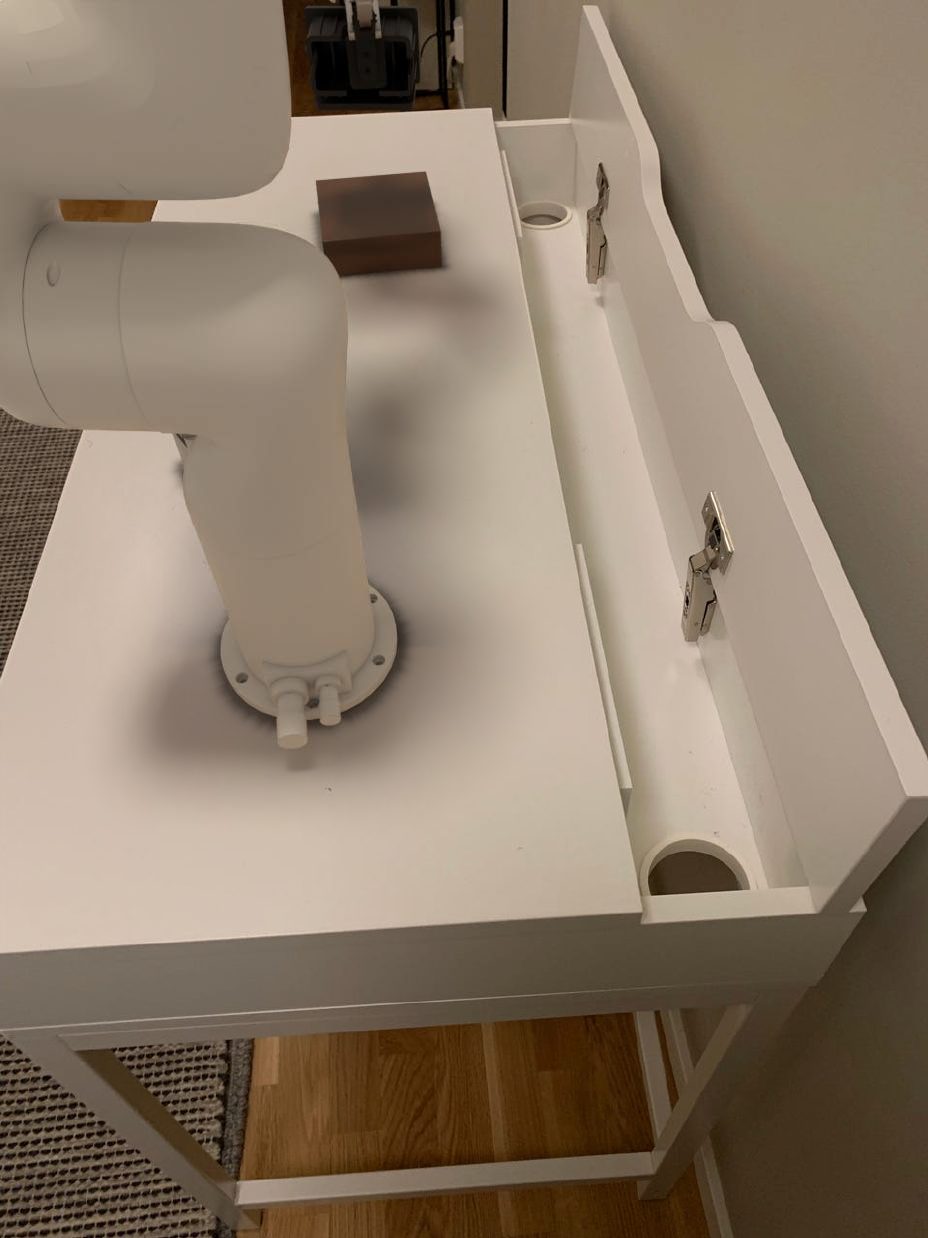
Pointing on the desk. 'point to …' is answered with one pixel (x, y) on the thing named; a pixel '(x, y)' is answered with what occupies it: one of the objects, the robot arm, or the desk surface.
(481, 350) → the desk surface
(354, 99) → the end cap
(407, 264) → the riser
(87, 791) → the desk surface
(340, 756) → the desk surface
